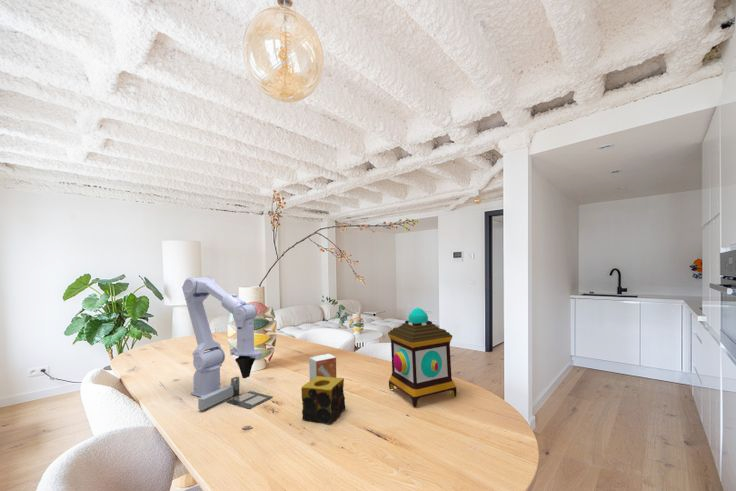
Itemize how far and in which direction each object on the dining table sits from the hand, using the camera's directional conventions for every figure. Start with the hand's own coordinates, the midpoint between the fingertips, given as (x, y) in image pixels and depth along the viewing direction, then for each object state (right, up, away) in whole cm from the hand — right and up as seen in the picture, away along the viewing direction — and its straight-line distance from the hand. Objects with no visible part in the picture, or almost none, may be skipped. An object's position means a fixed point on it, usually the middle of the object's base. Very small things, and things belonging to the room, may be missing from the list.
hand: (245, 377), depth 109 cm
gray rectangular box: (-9, -7, -4) cm, 11 cm away
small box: (+27, -7, +2) cm, 28 cm away
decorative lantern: (+63, -5, -1) cm, 63 cm away
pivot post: (-5, -8, +3) cm, 10 cm away
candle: (+30, -6, -14) cm, 34 cm away
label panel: (+2, -7, -2) cm, 8 cm away
